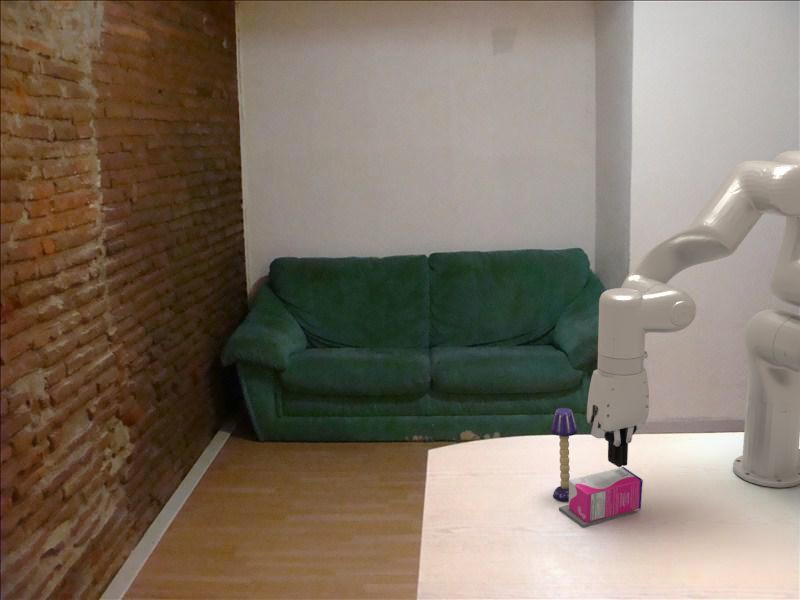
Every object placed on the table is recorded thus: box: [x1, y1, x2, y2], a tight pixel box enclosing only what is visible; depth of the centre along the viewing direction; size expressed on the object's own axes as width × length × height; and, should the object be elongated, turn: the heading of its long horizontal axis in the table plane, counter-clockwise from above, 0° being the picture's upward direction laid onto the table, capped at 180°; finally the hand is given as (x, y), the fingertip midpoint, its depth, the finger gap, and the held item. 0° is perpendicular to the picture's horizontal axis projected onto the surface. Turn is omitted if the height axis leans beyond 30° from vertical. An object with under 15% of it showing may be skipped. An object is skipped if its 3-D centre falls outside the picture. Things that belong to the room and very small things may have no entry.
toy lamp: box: [550, 407, 578, 503], centre depth 156 cm, size 5×5×17 cm
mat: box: [558, 503, 636, 529], centre depth 153 cm, size 11×7×1 cm, turn 115°
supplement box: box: [568, 466, 644, 523], centre depth 151 cm, size 6×6×12 cm
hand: (617, 463), depth 150 cm, fingers closed
